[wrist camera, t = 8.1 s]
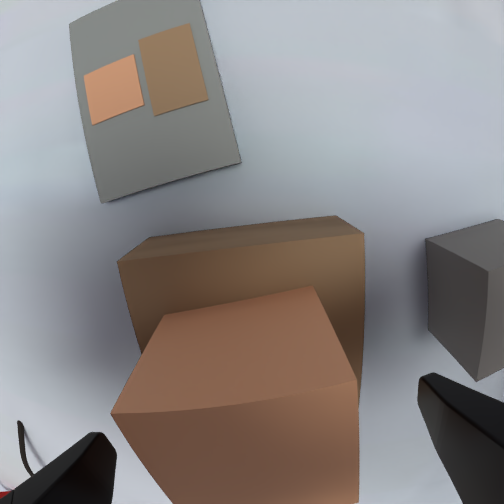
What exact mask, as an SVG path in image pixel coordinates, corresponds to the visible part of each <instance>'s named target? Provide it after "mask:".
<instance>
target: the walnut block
mask: <svg viewBox="0 0 504 504" xmlns="http://www.w3.org/2000/svg"><path fill="white" fill-rule="evenodd" d="M117 264H118V268H119V273H120V277H121V281H122V285H123V289H124V293H125V297H126V301H127V305H128V309H129V313H130V316H131V320H132V323H133V327H134V330H135V334H136V337H137V341H138V344H139V347H140V350H141V354H142V353H143V352H144V350H145V348H146V346H147V344H148V342H149V341H150V339H151V337H152V335H153V334H154V332H155V330H156V328H157V326H158V325H159V323H160V321H161V319H162V318H163V316H164V315H166V314H172V313H178V312H183V311H189V310H194V309H200V308H205V307H210V306H216V305H221V304H226V303H231V302H236V301H241V300H246V299H251V298H256V297H261V296H266V295H271V294H275V293H280V292H285V291H289V290H294V289H299V288H303V287H308V286H312V285H313V287H314V289H315V291H316V293H317V295H318V297H319V299H320V301H321V304H322V306H323V308H324V310H325V312H326V314H327V316H328V318H329V320H330V322H331V325H332V327H333V329H334V331H335V333H336V335H337V337H338V339H339V342H340V344H341V346H342V348H343V350H344V352H345V355H346V357H347V359H348V361H349V363H350V365H351V368H352V370H353V372H354V374H355V376H356V379H357V390H358V408H359V398H360V387H361V374H362V360H363V341H364V314H365V249H364V233H363V232H361V231H360V230H358V229H357V228H355V227H353V226H352V225H350V224H349V223H347V222H346V221H344V220H342V219H341V218H339V217H338V216H326V217H316V218H306V219H297V220H287V221H278V222H269V223H260V224H252V225H243V226H235V227H226V228H218V229H210V230H202V231H194V232H186V233H178V234H171V235H163V236H156V237H149V238H148V239H146V240H145V241H144V242H142V243H141V244H140V245H138V246H137V247H135V248H134V249H133V250H131V251H130V252H129V253H127V254H126V255H125V256H123V257H122V258H121V259H120V260H118V261H117Z"/></svg>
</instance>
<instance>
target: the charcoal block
mask: <svg viewBox="0 0 504 504" xmlns="http://www.w3.org/2000/svg"><path fill="white" fill-rule="evenodd" d="M425 242H426V256H427V274H428V330H429V331H430V332H431V333H432V334H433V336H434V337H435V338H436V339H437V340H438V341H439V342H440V343H441V344H442V345H443V346H444V347H445V348H446V349H447V350H448V352H449V353H450V354H451V355H452V356H453V357H454V358H455V359H456V360H457V361H458V362H459V364H460V365H461V366H462V367H463V368H464V369H465V370H466V371H467V372H468V374H469V375H470V376H471V377H472V378H473V379H474V380H475V381H476V382H477V381H479V380H481V379H483V378H485V377H487V376H489V375H491V374H493V373H495V372H497V371H499V370H501V369H502V368H504V221H503V220H500V219H496V220H492V221H488V222H485V223H481V224H478V225H474V226H471V227H467V228H463V229H460V230H456V231H452V232H449V233H445V234H441V235H438V236H434V237H430V238H426V239H425Z"/></svg>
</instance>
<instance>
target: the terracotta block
mask: <svg viewBox="0 0 504 504" xmlns="http://www.w3.org/2000/svg"><path fill="white" fill-rule="evenodd" d="M110 414H111V416H112V417H113V419H114V421H115V422H116V424H117V426H118V427H119V429H120V430H121V432H122V434H123V435H124V437H125V438H126V440H127V441H128V443H129V444H130V446H131V447H132V449H133V450H134V452H135V453H136V455H137V456H138V458H139V459H140V461H141V462H142V464H143V465H144V466H145V468H146V469H147V470H148V472H149V473H150V475H151V476H152V477H153V479H154V480H155V481H156V483H157V484H158V485H159V487H160V488H161V489H162V490H163V492H164V493H165V494H166V495H167V497H168V498H169V499H170V500H171V502H172V503H173V504H354V503H358V502H359V412H358V390H357V379H356V376H355V374H354V372H353V370H352V368H351V365H350V363H349V361H348V359H347V357H346V355H345V352H344V350H343V348H342V346H341V344H340V342H339V339H338V337H337V335H336V333H335V331H334V329H333V327H332V325H331V322H330V320H329V318H328V316H327V314H326V312H325V310H324V308H323V306H322V304H321V301H320V299H319V297H318V295H317V293H316V291H315V289H314V287H313V285H312V286H308V287H303V288H299V289H294V290H289V291H285V292H280V293H275V294H271V295H266V296H261V297H256V298H251V299H246V300H241V301H236V302H231V303H226V304H221V305H216V306H210V307H205V308H200V309H194V310H189V311H183V312H178V313H172V314H166V315H164V316H163V318H162V319H161V321H160V323H159V325H158V326H157V328H156V330H155V332H154V334H153V335H152V337H151V339H150V341H149V342H148V344H147V346H146V348H145V350H144V352H143V353H142V355H141V357H140V359H139V361H138V362H137V364H136V366H135V368H134V370H133V372H132V373H131V375H130V377H129V379H128V381H127V383H126V385H125V386H124V388H123V390H122V392H121V394H120V396H119V398H118V400H117V402H116V403H115V405H114V407H113V409H112V411H111V413H110Z"/></svg>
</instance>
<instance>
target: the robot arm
mask: <svg viewBox="0 0 504 504" xmlns="http://www.w3.org/2000/svg"><path fill="white" fill-rule="evenodd" d="M417 400H418V406H419V408H420V411H421V413H422V416H423V418H424V421H425V423H426V426H427V429H428V431H429V434H430V436H431V439H432V442H433V444H434V447H435V449H436V451H437V453H438V455H439V457H440V459H441V461H442V463H443V465H444V467H445V469H446V471H447V472H448V474H449V476H450V478H451V480H452V482H453V484H454V486H455V488H456V490H457V492H458V494H459V496H460V498H461V500H462V502H463V504H504V403H503V402H501V401H499V400H496V399H494V398H491V397H489V396H487V395H484V394H482V393H480V392H477V391H475V390H473V389H471V388H468V387H466V386H464V385H461V384H459V383H457V382H455V381H452V380H450V379H448V378H445V377H443V376H441V375H439V374H437V373H430V374H427V375H424V376H422V377H420V379H419V385H418V398H417ZM116 460H117V453H116V450H115V448H114V447H113V446H112V444H111V443H110V441H109V440H108V439H107V437H106V436H105V434H103V433H102V432H90V433H88V434H87V435H86V436H85V437H83V438H82V439H81V440H79V441H78V442H77V443H75V444H74V445H73V446H72V447H70V448H69V449H68V450H66V451H65V452H64V453H62V454H61V455H60V456H58V457H57V458H56V459H54V460H53V461H52V462H50V463H49V464H48V465H46V466H45V467H44V468H42V469H41V470H40V471H38V472H37V473H36V474H34V475H33V476H31V477H30V478H29V479H27V480H26V481H25V482H23V483H22V484H20V485H19V486H18V487H16V488H15V489H14V490H12V491H11V492H9V493H8V494H6V495H5V496H3V497H2V498H0V504H111V503H112V497H113V489H114V479H115V469H116Z"/></svg>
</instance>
